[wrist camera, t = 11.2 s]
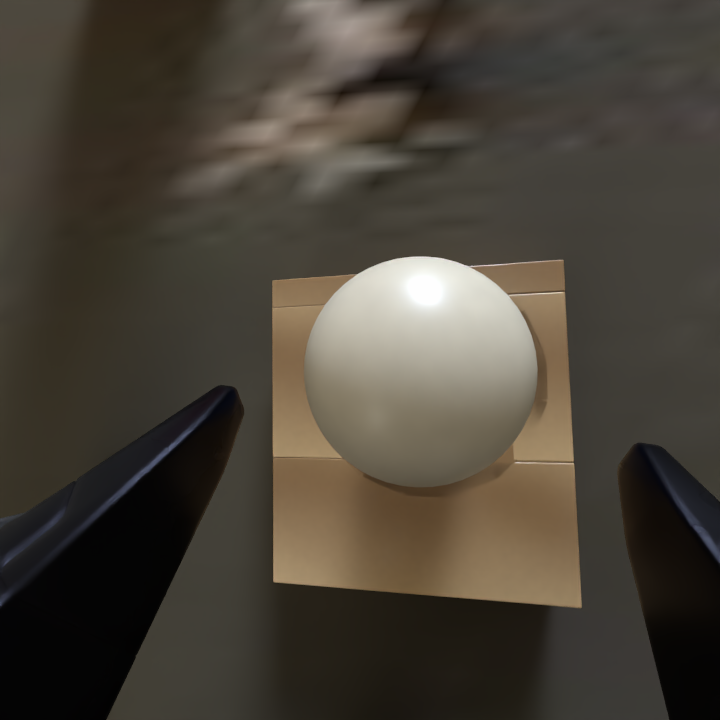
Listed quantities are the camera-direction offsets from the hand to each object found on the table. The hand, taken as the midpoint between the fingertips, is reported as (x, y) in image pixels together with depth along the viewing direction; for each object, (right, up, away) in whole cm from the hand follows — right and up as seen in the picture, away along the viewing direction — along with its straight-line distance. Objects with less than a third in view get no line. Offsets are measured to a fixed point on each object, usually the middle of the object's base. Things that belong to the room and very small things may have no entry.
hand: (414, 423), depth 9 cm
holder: (+1, -2, +9) cm, 10 cm away
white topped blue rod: (+2, +1, +9) cm, 10 cm away
